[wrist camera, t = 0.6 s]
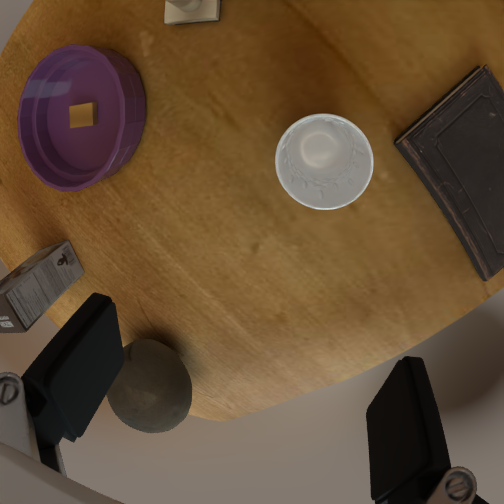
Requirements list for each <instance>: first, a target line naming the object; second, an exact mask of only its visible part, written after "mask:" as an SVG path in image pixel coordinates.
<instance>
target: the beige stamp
mask: <svg viewBox="0 0 504 504" xmlns="http://www.w3.org/2000/svg"><path fill="white" fill-rule="evenodd" d="M220 7H221V0H166V4H165V18H164V23H165V24H167V25H172V24H175V25H179V24H188V23H198V22H211V21H220Z"/></svg>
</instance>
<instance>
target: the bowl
mask: <svg viewBox="0 0 504 504" xmlns="http://www.w3.org/2000/svg"><path fill="white" fill-rule="evenodd" d="M91 102H97V106H98V124H97V125H92V126H84V127H76V128H70V112H69V107H70V106H74V105H80V104H85V103H91ZM17 123H18V138H19V142H20V145H21V149H22V152H23V155H24V158H25V160H26V161H27V163H28V165H29V166H30V168H31V170H32V171H33V173H34V174H35V175H36V176H37V177H38V178H39V179H40V180H41V181H42V182H43V183H44V184H46V185H47V186H50V187H52V188H54V189H57V190H59V191H75V192H77V191H80V190H82V189H84V188H87V187H89V186H91V185H93V184H95V183H98V182H100V181H102V180H104V179H106V178H108V177H110V176H112V175H114V174H115V173H116V172H117V171H119V170H120V169H121V168H122V167H123V166H124V165H125V164H126V163H127V162H128V161H129V160H130V158H131V156H132V155H133V153H134V151H135V149H136V148H137V146H138V144H139V142H140V139H141V135H142V131H143V127H144V123H145V93H144V90H143V87H142V83H141V80H140V77H139V74H138V73H137V71H136V70H135V69H134V67H133V66H132V64H131V63H130V62H129V60H128V59H127V58H125V57H124V56H122V55H120V54H119V53H117V52H116V51H114V50H112V49H107V48H100V47H93V46H85V45H75V44H71V45H68V46H65V47H62V48H59V49H56V50H54V51H53V52H51V53H50V54H49V55H47V56H46V57H45V58H44V59H42V60H41V61H40V62H39V63H38V65H37V66H36V67H35V69H34V70H33V72H32V73H31V75H30V76H29V77H28V79H27V82H26V84H25V87H24V89H23V92H22V95H21V98H20V103H19V109H18V116H17Z"/></svg>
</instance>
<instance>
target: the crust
mask: <svg viewBox="0 0 504 504" xmlns="http://www.w3.org/2000/svg"><path fill="white" fill-rule="evenodd" d="M69 112H70V128H76V127H84V126H92V125H97V124H98V106H97V102H91V103H85V104H80V105H74V106H70V107H69Z"/></svg>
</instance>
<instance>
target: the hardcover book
mask: <svg viewBox="0 0 504 504" xmlns="http://www.w3.org/2000/svg"><path fill="white" fill-rule="evenodd" d="M394 145H395V146H396V147H397V148H398V150H399V151H400V152H401V154H402V155H403V156H404V157H405V159H406V160H407V161H408V163H409V164H410V165H411V167H412V168H413V169H414V171H415V172H416V173H417V175H418V176H419V178H420V179H421V180H422V182H423V183H424V185H425V186H426V188H427V189H428V190H429V192H430V193H431V195H432V196H433V198H434V199H435V201H436V202H437V204H438V205H439V207H440V208H441V210H442V211H443V213H444V215H445V216H446V218H447V219H448V221H449V223H450V224H451V226H452V227H453V229H454V231H455V232H456V234H457V236H458V238H459V239H460V241H461V243H462V244H463V246H464V248H465V250H466V252H467V253H468V255H469V257H470V259H471V261H472V262H473V264H474V266H475V268H476V270H477V272H478V274H479V276H480V278H481V279H482V280H483V281H488V280H489V279H491V278H492V277H493V276H494V275H495V274H496V273H498V272H499V271H500V270H501V269H502V268H503V267H504V91H503V89H502V88H501V86H500V84H499V83H498V81H497V79H496V78H495V76H494V75H493V73H492V72H491V70H490V69H489V67H488V66H487V65H485V66H484V67H483V68H482V67H481V68H480V66H477V67H476V68H475V69H474V70H473V71H471V72H470V73H469V74H468V75H467V76H466V77H465V78H464V79H462V80H461V81H460V82H459V83H458V84H457V85H456V86H455V87H454V88H452V89H451V90H450V91H449V92H448V93H447V94H446V95H445V96H443V97H442V98H441V99H440V100H439V101H438V102H437V103H436V104H434V105H433V106H432V107H431V108H430V109H429V110H428V111H427V112H425V113H424V114H423V115H422V116H421V117H420V118H419V119H418V120H416V121H415V122H414V123H413V124H412V125H411V126H410V127H408V128H407V129H406V130H405V131H404V132H403V133H402V134H401V135H399V136H398V137H397V138H396V139H395V140H394Z"/></svg>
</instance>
